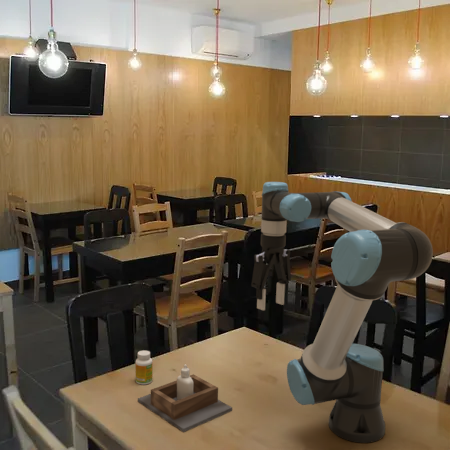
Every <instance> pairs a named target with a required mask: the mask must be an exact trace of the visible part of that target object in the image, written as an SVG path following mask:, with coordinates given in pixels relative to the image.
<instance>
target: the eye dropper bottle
mask: <svg viewBox="0 0 450 450" xmlns="http://www.w3.org/2000/svg"><path fill="white" fill-rule="evenodd" d="M190 369H191V368H189V367H188V365H187V364H186V363H185V364H184V365H183V367H182V368H181V369H180V370H181V371H180V375H178V376H177V378H176V380H177V400H180V399H182V398H185V397H187V396H190V395H193V380H192V378H191V377H190Z"/></svg>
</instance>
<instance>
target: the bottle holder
mask: <svg viewBox="0 0 450 450" xmlns="http://www.w3.org/2000/svg"><path fill="white" fill-rule="evenodd" d="M189 376H190V377H191V378H192V380H193V395H190V396H187V397H185V398H182V399H180V400H177V379H176V380H173V381H172V382H169V383H166V384H163V385H160V386H157V387H154V388H152V389H150V393H149V394H147V395H144V396H140V397H139V398H137V402H138V403H139V404H141V405H142V406H144V407H145V408H146V409H148V410H149V411H151V412H152V413H154V414H155V415H157V416H158V417H160V418H162V419H163V420H164V421H166V422H167V423H169V424H170V425H171V426H173V427H174V428H176V429H178V430H179V431H181V432H182V433H185V432H188V431H189V430H192V429H194V428H196V427H198V426H201V425H203V424H206V423H207V422H210V421H212V420H214V419H216V418H219V417H222V416H224V415H226V414H229V413H230V412H232V411H233V407H232V406H230V405H229V404H226V402H223V401H222V400H220V399H219V386H216V385H214V384H212V383H210V382H209V381H207V380H205V379H203V378H201V377H199V376H197V375H195V374H194V373H193V374H189Z"/></svg>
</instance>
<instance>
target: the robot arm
mask: <svg viewBox="0 0 450 450" xmlns="http://www.w3.org/2000/svg"><path fill="white" fill-rule="evenodd" d="M314 219H317V220H318V219H327V220H329V221H330V222H333V223H334V224H336V225H338V226H340V227H341V228H343V229H345V230H346V231H348V232H346V233H344V234H342V235H341V236H340V237H339V238H338V239H337V240H336V242H335V243H334V245H333V248H332V252H331V255H330V258H331V260H332V262H331V263H330V265H331V266H330V267H331V271H332V273H333V276H334V279H335V282H336V284H337V285H336V288H335V291H334V293H333V295H332V298H331V300H330V303H329V304H328V307H327V309H326V312H325V314H324V317H323V319H322V321H321V325H320V327H319V328H318V332H317V333H316V336H315V339H314V341H313V343H311V344H309V345H307V346H306V347H305V348H304V350H303V351H302V354H301V355H300V358H299V359H296V358H293V359H292V360H289V361H288V363H287V366H286V378H287V383H288V387H289V390H290V393H291V394H292V397H293V398H294V400H295V402H297V403H299V404H300V405H302V406H307V405H312V406H313V405H316V404H317V405H318V404H322V403H326V402H331V401H335V402H334V404H333V406H332V409H331V411H330V413H329V418H328V427H329V429H330V431H331V432H332V433H333V434H335V435H336V436H338V437H340V438H341V439H344V440H346V441H349V442H354V443H362V444H364V443H367V444H368V443H373V442H378V441H379V440H381V439H382V438H383V437H384V436H385V433H386V422H385V419H384V415H383V410H382V407H381V399H382V384H383V373H384V369H385V368H384V357H383V355H382V354H381V353H380V352H379V351H378V350H376V349H375V348H373V347H370V346H367V345H365V344H360V343H359V344H358V343H354V341H355V338H356V337H357V335H358V332H359V330H360V328H361V326H362V324H363V322H364V320H365V318H366V316H367V313H368V311H369V310H370V307H371V305H372V303H373V301H376V300H379V299H380V298H382V297H383V296H384V294H385V292H386V290H387V288H388V286H389V284H390V283H392V282H400V281H409V280H410V281H411V280H412V279H415V278H418V277H420V276H421V275H422V274H424V273H425V272H426V271H427V270H428V269H429V267H430V265H431V263H432V261H433V256H434V255H433V253H434V250H433V244H432V242H431V240H430V238H429V237H428V236H427V234H426V233H425V232H424V231H422V230H421V229H419V228H418V227H415V226H414V225H411V224H409V223H407V222H404V221H401V222H395V221H393V220H391V219H389V218H387V217H384V216H383V215H381V214H378V213H377V212H374V211H373V210H371V209H368V208H366V207H365V206H362V205H360V204H358V203H355V202H353V201H352V198H351V197H350V194H348V192H344V191H337V190H336V191H323V192H321V191H320V192H319V191H317V192H290V191H289V186H288V183H286V182H282V181H266V182H264V184H263V186H262V193H261V225H260V226H261V227H260V232H261V234H260V246H261V249H262V250H261V253H259V254H258V253H257V254H254V255H253V260H254V264H253V265H254V266H253V271H252V278H251V284H250V286H251V287H253V288H254V289H255V290H256V292H255V293H256V294H255V297H256V309H258V310H261V311H266V298H267V297H266V295H267V289H266V288H265V285H266V282H267V280H268V279H267V278H268V276H269V273H270V270H271V268H273V266H274V269H275V272H276V277H277V280H278V282H276V293H275V294H276V295H275V303H276V304H279V305H281V306H282V305H283V306H284V305H285V293H286V289H287V288H286V286H287V285H288V284H290V281H291V279H292V273H291V263H290V261H291V260H290V256H291V250H290V249H287V248H286V249H285V246H286V241H287V236H286V233H287V224H288V223H287V221H289V222H296V223H300V222H303V221H305V220H314ZM380 438H381V439H380Z"/></svg>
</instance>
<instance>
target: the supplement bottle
mask: <svg viewBox="0 0 450 450" xmlns="http://www.w3.org/2000/svg"><path fill="white" fill-rule="evenodd" d="M135 382H136V384H138V385H149V384H151V383H152V382H153V359H152V358H151V351H150V350H139V351H138V352H137V358H136V359H135Z"/></svg>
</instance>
